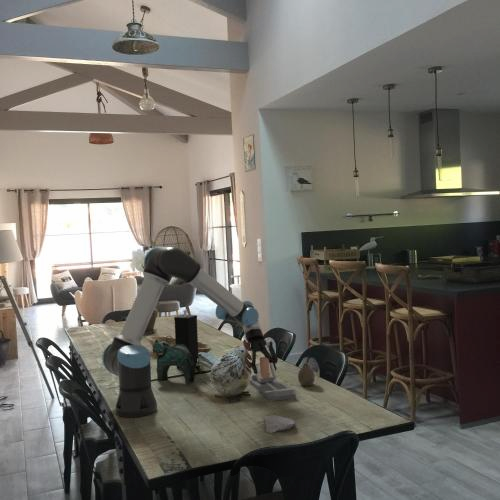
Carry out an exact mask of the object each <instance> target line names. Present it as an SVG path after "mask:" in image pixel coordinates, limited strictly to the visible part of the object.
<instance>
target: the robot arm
mask: <svg viewBox="0 0 500 500" xmlns="http://www.w3.org/2000/svg"><path fill="white" fill-rule="evenodd" d="M143 263H144V264H143V265H144V268H143V271H142V275H143V280H142V283H141V285H140V287H139V289H138V292H137V294H136V296H135V298H134V301H133V304H132V306H131V308H130V311H129V312H128V315H127V316H126V317H127V318H126V320H125V322H124V324H123V325H122V326H123V327H122V329H121V331H120V333H118V334H117V335H116V334H115V336H114V337H113V339H112V342H111V343H110V344H108V345H107V346H106V347H105V348H104V349H103V353H102V355H101V361H102V364H103V366H104V369H106V370H107V371H108V372H109V373H110V374H111V375H115V376H117V377H118V386H119V387H118V388H119V389H118V390H119V392H118V396H117V399H116V403H115V414H116V415H117V416H119V417H121V418H123V417H124V418H139V417H145V416H148V415H151V414H154V413H155V412H156V411H157V410H158V403H157V399H156V397H155V394H154V392H153V389H152V373H151V371H152V369H151V368H152V367H151V354H150V350H149V349H148V347H146V346H144V345H142V343H141V341H142V339H143V337H144V335H145V332H146V330H147V327H148V325H149V323H150V320H151V318H152V316H153V313H154V311H155V308H156V306H157V304H158V302H159V300H160V297H161V295H162V292H163V290H164V288H165V287H166V286H167V285H170V282H171V281H172V278H176V279H177V280H179V281H181V282H182V283H184V284H185V285H188V284H189V285H191V286H192V287H193V288H195V289H196V290H197V291H199V292H200V293H201V294H202V295H204V296H205V297H206V298H207V299H209V300H210V301H211V302H213V303H214V304H216V308H215V317H216V318H217V319H219V320H222V321H228V322H233V323H237V324H239V325H240V324H241V327H242V329H243V332H244V334H245V340H246V342H247V341H248V342H250V343H251V349H250V350H251V364H252V368H251V369H252V371H253V375H254V374H256V375H257V378H258V381H259V382H260V381H261V379H262V377H261V374H260V366H259V365H258V364H256V363H257V361H256V360H257V353H258V352H260V353H261V354H262V355H263V357H266V358H268V359H269V370H270V372H271V373H270V374H271V376H272V377H273V378H274V380H277V377H278V375H277V372H276V371H277V365H276V364H277V363H278V361H279V358H278V356H277V354H276V351H275V349H274V346H273V341H270V342H269V341H266V340H265V337H264V334H263V330H262V328H261V325H260V321H259V318H260V315H259V312H258V310H257V308H255V307H254V304H253V303H252V302H251V301H249V300H245V301H242V300H241V299H240V298H238V297H237V296H236V295H235V294H233V293H232V292H231V291H230V290H228V289H227V288H226V287H225V286H223V285H222V284H221V283H220V282H219V281H217V280H216V279H215V278H214V277H212V276H211V275H210V274H209V273H208V272H207V271H205V270H204V269H202V265H201V264H200V262H198V261H197V260H196V259H194V258H193V257H192V256H191V255H190V254H188V253H187V251H184V250H183V249H181V248H179V247H177V246H176V247H175V246H174V247H173V246H164V245H163V246H155V247H154V248H153V247H152V248H151V249H150V250H148V251H147V253H146V254H145V256H144V261H143ZM248 342H247V343H248ZM266 346H267V347H266Z"/></svg>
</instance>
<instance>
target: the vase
mask: <svg viewBox="0 0 500 500" xmlns="http://www.w3.org/2000/svg"><path fill="white" fill-rule="evenodd" d="M315 377H316V375H315V372H314V370H313V369H312V367H311V365H310V364H309V363H303V364H302V366H301V367H300V369H299V370H298V374H297V380H298V383H299V384H300V385H301V386H302V387H312V385H313V384H314V382H315Z"/></svg>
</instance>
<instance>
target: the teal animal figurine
mask: <svg viewBox="0 0 500 500" xmlns="http://www.w3.org/2000/svg"><path fill="white" fill-rule="evenodd" d="M168 337H169V338H171V339H172V340H173V336H171V335H167V336H166V337H165V340H161V341H159V340H158V339H155V341H154V344H153V345H152V353H153V355H154V356H155V357H157V360H156V374H157V376H156V378H157V381H165V380H167V379H168V378H169V375H168V374H169V370H170V367H171V366H174V367H177V366H178V367H180V368H181V369H180V370H182V373H183V377H184V379H185V380H184V381H185V384H192V383H195V376H196V367H195V366H194V361H193V357H192V355H191V353H190V351H189V349H188V348H187V347H186V346H184V345H182V344H176V343H175V344H173V345H170V344H169V343H168ZM176 345H181V346H176ZM182 346H184V347H182Z"/></svg>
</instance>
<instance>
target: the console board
mask: <svg viewBox="0 0 500 500" xmlns="http://www.w3.org/2000/svg"><path fill="white" fill-rule="evenodd" d="M269 375H270V376H271V373H270V372H269ZM256 376H257V375H256V374H254V373H253V374H251V379H249V385H251V386H252V385H253V386H252V387H253V388H255V389H256V390H257V391H259V392H260V393H261V394H262V395H263V396H264V397H266V398H267V399H268V400H270V402H277V401H283V400H290V399H296V398H297V394H296V393H295V392H294V388H291V387H290V388H288V387H287V386H285V385H284V384H283V383H281V382H279V381H278V380H277V379H275V380H274V381H272V382H265V383H259V382H258V381H257V380H256Z"/></svg>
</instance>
